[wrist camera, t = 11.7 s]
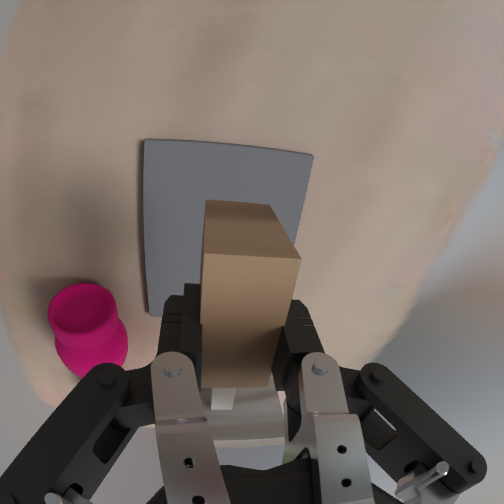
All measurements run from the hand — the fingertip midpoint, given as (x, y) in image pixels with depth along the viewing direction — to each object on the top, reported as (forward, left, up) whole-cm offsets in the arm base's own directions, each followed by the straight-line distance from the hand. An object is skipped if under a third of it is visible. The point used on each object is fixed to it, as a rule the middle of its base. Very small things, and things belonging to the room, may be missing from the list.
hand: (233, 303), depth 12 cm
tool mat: (+4, 0, -12) cm, 12 cm away
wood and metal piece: (+3, 0, -2) cm, 4 cm away
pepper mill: (+8, -11, -8) cm, 16 cm away
